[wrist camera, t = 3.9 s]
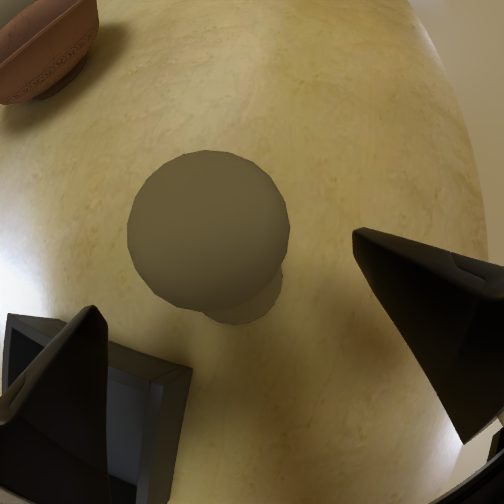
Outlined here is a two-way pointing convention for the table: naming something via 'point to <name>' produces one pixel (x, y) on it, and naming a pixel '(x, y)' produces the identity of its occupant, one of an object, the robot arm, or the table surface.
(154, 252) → the cork
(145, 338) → the table surface
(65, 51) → the bowl
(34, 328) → the dark grey square box
